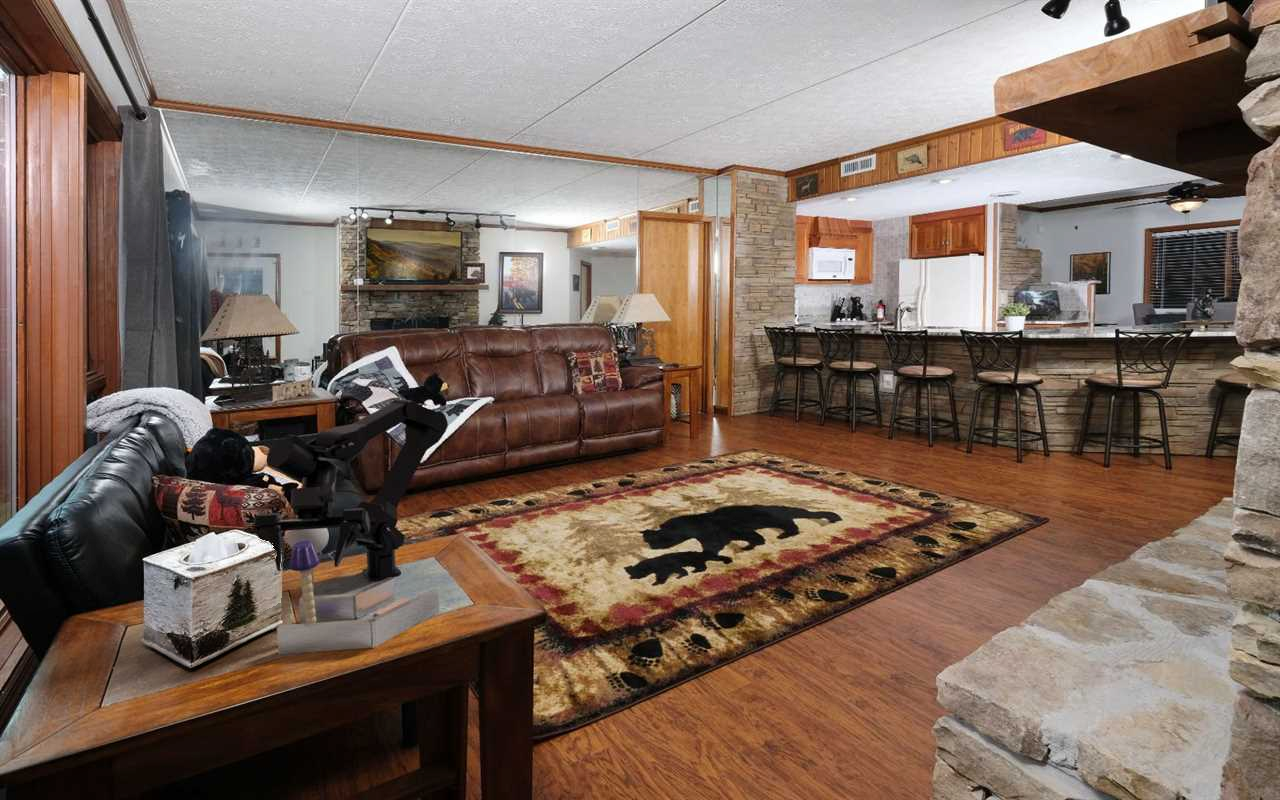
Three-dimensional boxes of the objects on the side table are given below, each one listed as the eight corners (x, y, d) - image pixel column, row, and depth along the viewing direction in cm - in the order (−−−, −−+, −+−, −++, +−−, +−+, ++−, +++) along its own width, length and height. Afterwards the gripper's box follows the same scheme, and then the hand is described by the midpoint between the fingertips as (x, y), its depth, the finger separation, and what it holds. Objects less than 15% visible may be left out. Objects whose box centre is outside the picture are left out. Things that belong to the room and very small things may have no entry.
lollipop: (338, 592, 136) (333, 519, 134) (300, 603, 131) (295, 528, 129) (323, 582, 141) (319, 512, 139) (286, 592, 136) (281, 519, 134)
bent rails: (268, 628, 121) (266, 604, 120) (419, 592, 137) (418, 570, 136) (285, 672, 107) (283, 645, 106) (452, 626, 122) (451, 602, 122)
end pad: (403, 600, 133) (403, 598, 133) (430, 608, 130) (430, 606, 129) (374, 614, 127) (374, 612, 126) (402, 623, 123) (401, 621, 123)
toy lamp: (304, 644, 115) (298, 549, 113) (288, 637, 118) (282, 544, 116) (330, 633, 120) (324, 541, 117) (314, 626, 122) (308, 536, 120)
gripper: (251, 470, 120) (235, 552, 111) (364, 465, 125) (357, 543, 115) (267, 501, 129) (253, 579, 120) (372, 495, 133) (366, 570, 124)
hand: (307, 568), depth 119 cm, fingers open, 9 cm apart
